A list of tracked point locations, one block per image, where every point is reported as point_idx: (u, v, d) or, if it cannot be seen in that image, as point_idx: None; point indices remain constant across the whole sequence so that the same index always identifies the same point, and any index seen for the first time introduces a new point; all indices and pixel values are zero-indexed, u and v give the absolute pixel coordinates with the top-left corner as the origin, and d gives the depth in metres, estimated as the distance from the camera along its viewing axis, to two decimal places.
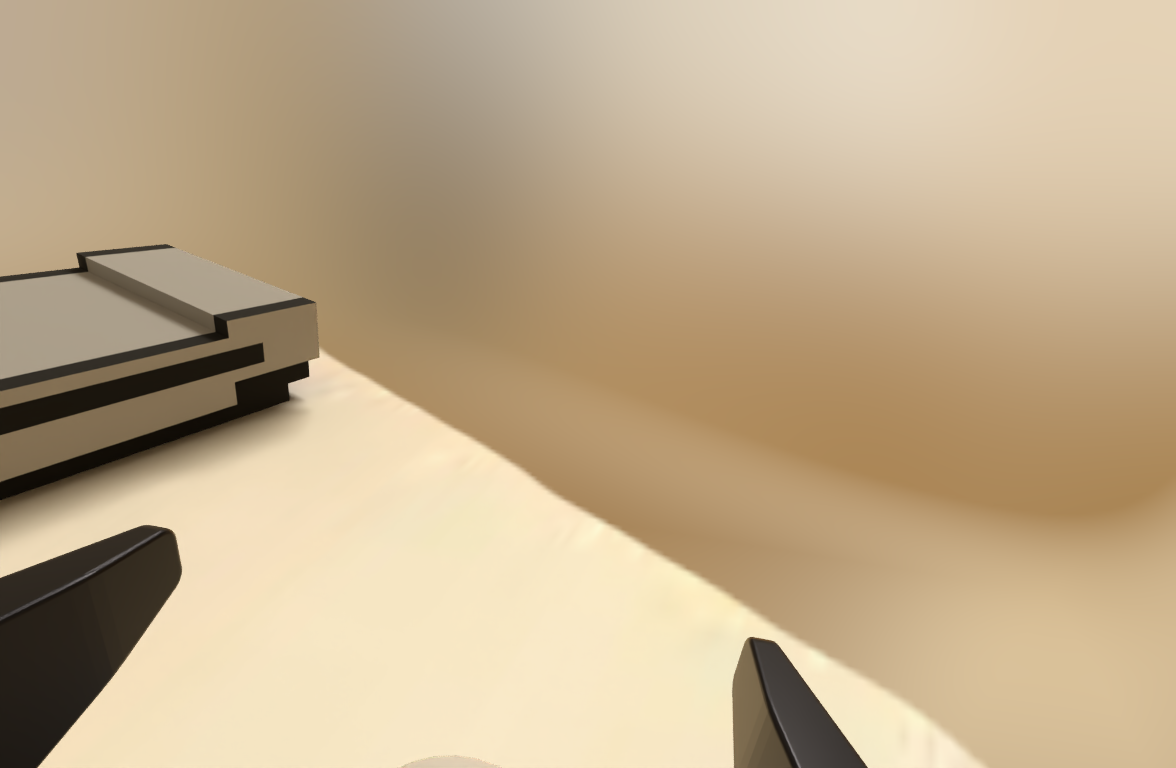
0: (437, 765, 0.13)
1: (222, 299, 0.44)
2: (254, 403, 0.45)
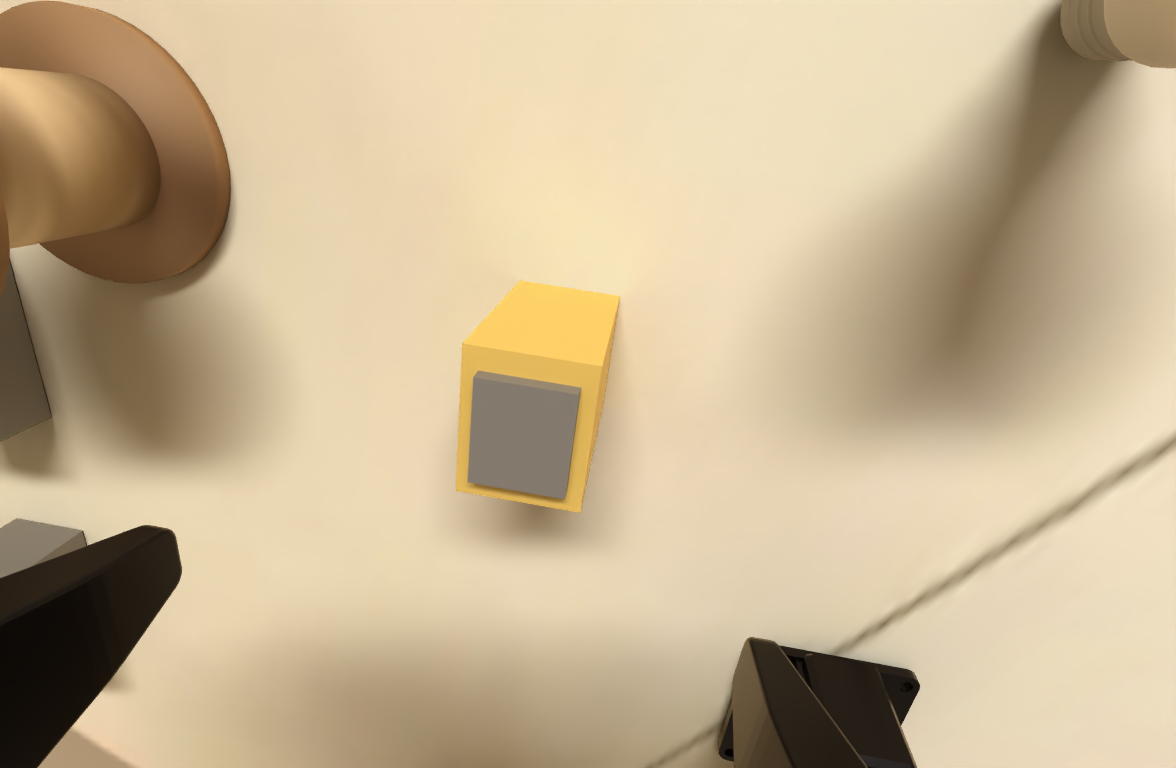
0: None
1: None
2: None
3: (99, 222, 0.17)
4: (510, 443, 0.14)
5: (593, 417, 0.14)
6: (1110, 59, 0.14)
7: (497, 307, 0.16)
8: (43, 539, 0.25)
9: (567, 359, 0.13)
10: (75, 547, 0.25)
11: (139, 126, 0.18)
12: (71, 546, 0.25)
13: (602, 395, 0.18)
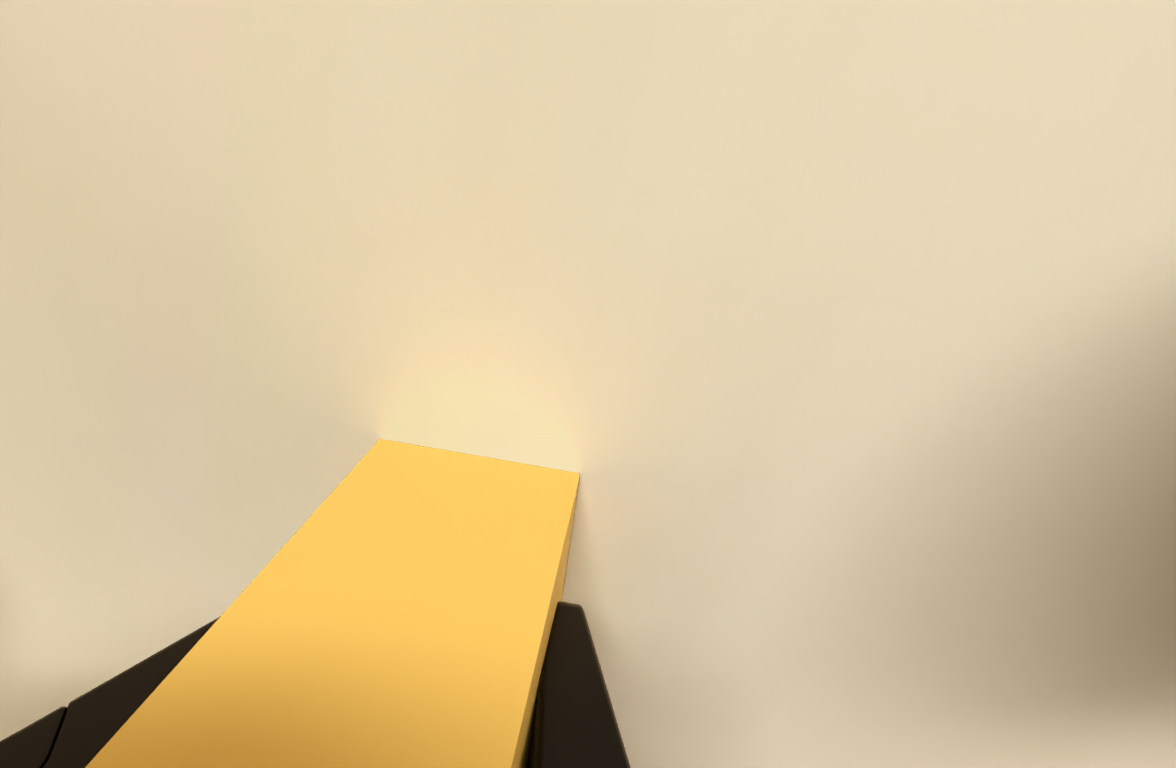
0: None
1: None
2: None
3: None
4: None
5: None
6: None
7: (264, 571, 0.07)
8: None
9: None
10: None
11: None
12: None
13: None
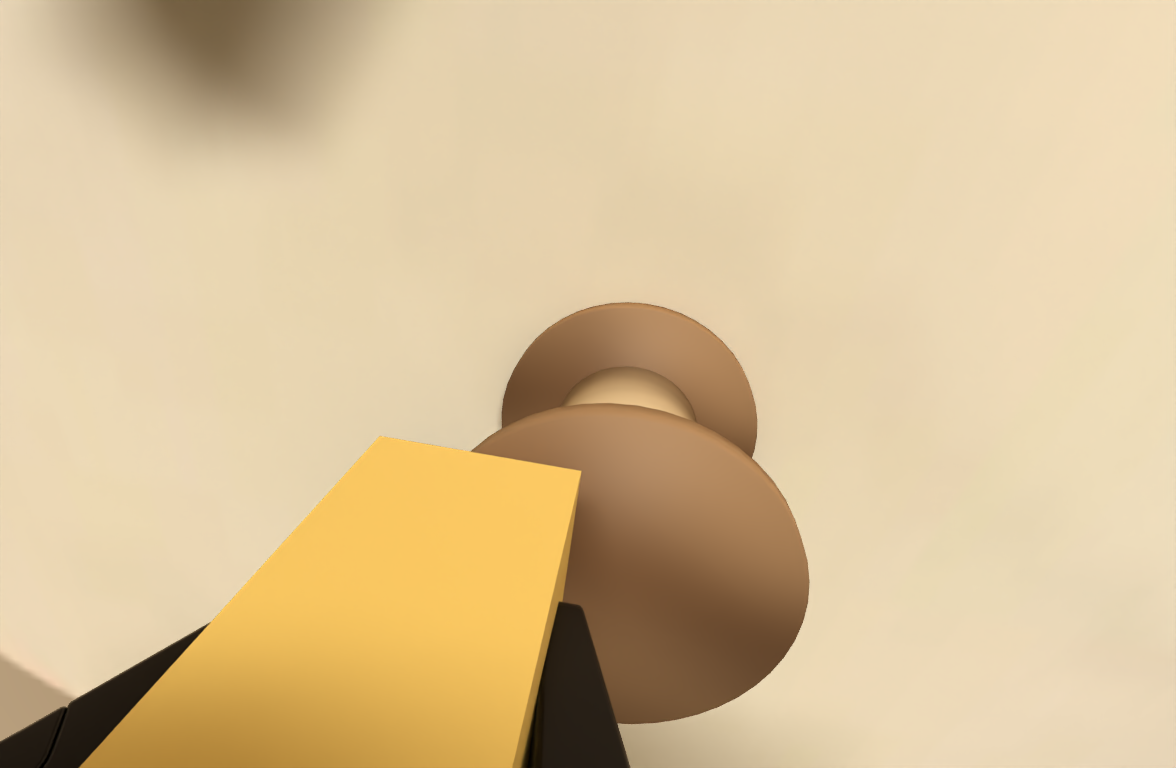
0: None
1: None
2: None
3: None
4: None
5: None
6: None
7: (263, 569, 0.07)
8: None
9: None
10: None
11: (694, 414, 0.18)
12: None
13: None
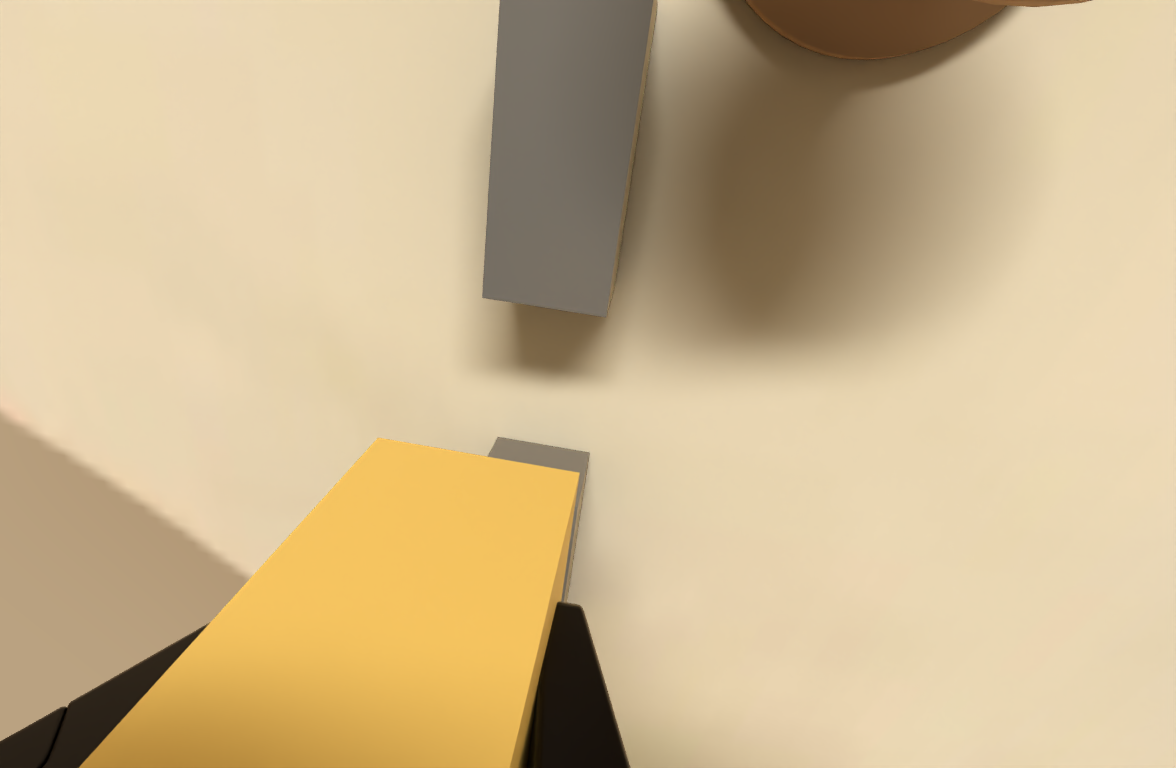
0: None
1: None
2: None
3: None
4: None
5: None
6: None
7: (261, 572, 0.07)
8: (556, 460, 0.18)
9: None
10: (585, 474, 0.19)
11: None
12: None
13: None
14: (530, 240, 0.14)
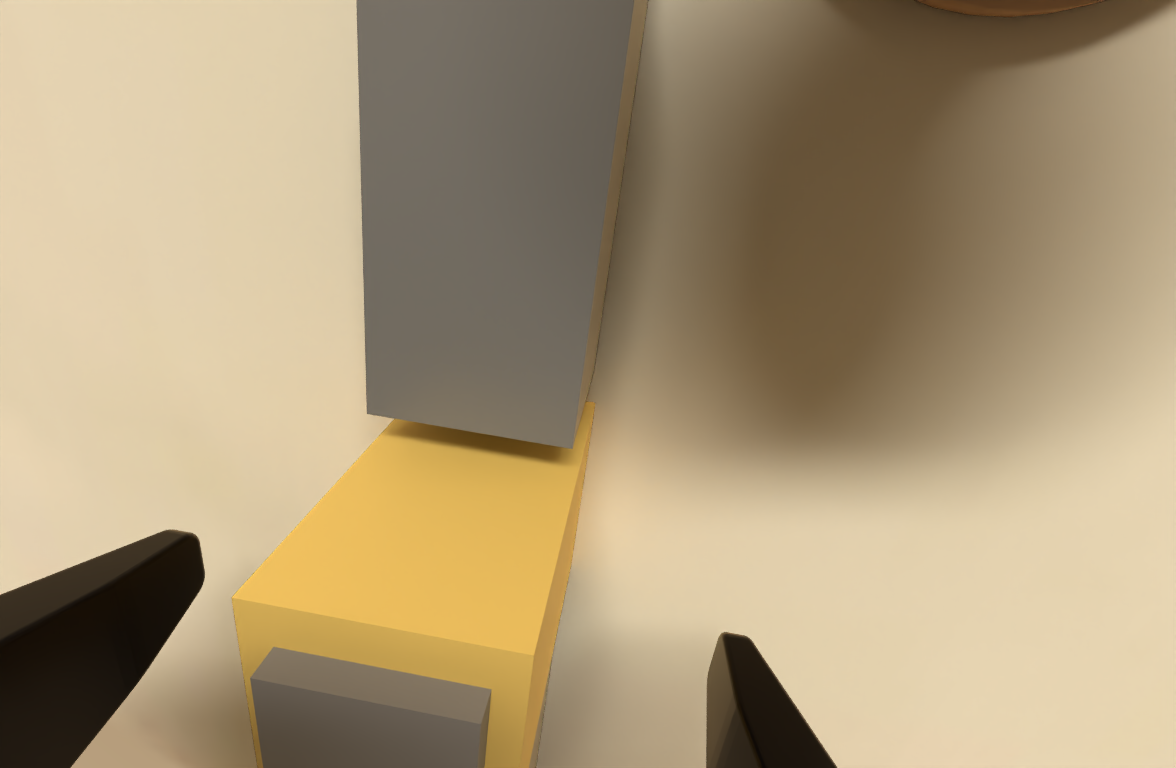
0: None
1: None
2: None
3: None
4: None
5: (520, 740, 0.07)
6: None
7: (365, 454, 0.09)
8: None
9: (459, 638, 0.06)
10: None
11: None
12: None
13: (562, 584, 0.10)
14: (440, 325, 0.08)
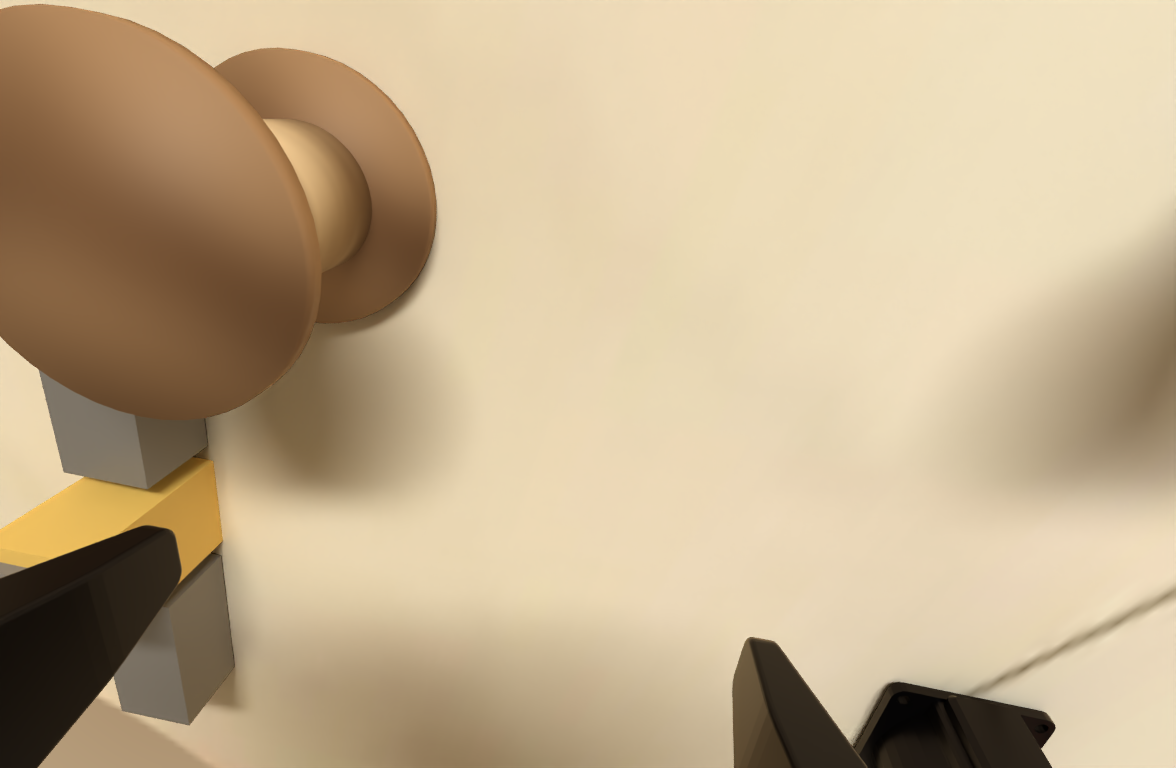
0: None
1: None
2: None
3: (322, 270, 0.17)
4: None
5: None
6: None
7: (66, 489, 0.21)
8: None
9: None
10: (214, 572, 0.25)
11: (360, 174, 0.17)
12: (212, 571, 0.25)
13: None
14: (84, 440, 0.20)
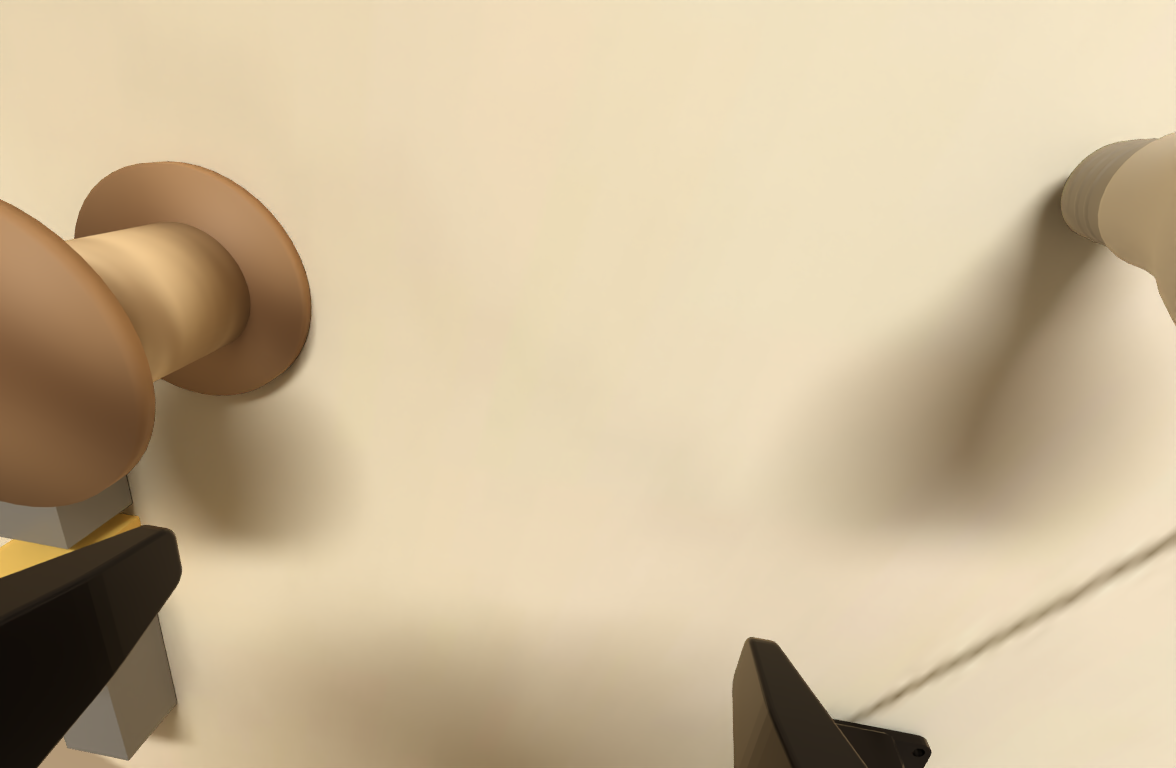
0: None
1: None
2: None
3: (200, 356, 0.19)
4: None
5: None
6: None
7: None
8: None
9: None
10: None
11: (234, 268, 0.20)
12: None
13: None
14: (8, 507, 0.22)
